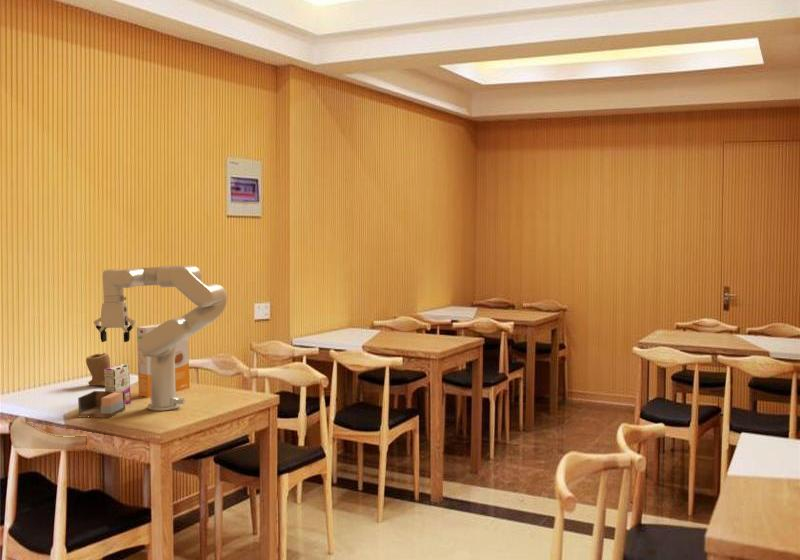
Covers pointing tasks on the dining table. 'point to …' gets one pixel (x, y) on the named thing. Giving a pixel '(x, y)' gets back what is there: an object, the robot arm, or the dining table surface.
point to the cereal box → (144, 361)
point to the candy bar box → (118, 380)
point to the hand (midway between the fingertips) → (115, 341)
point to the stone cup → (98, 368)
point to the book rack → (101, 404)
